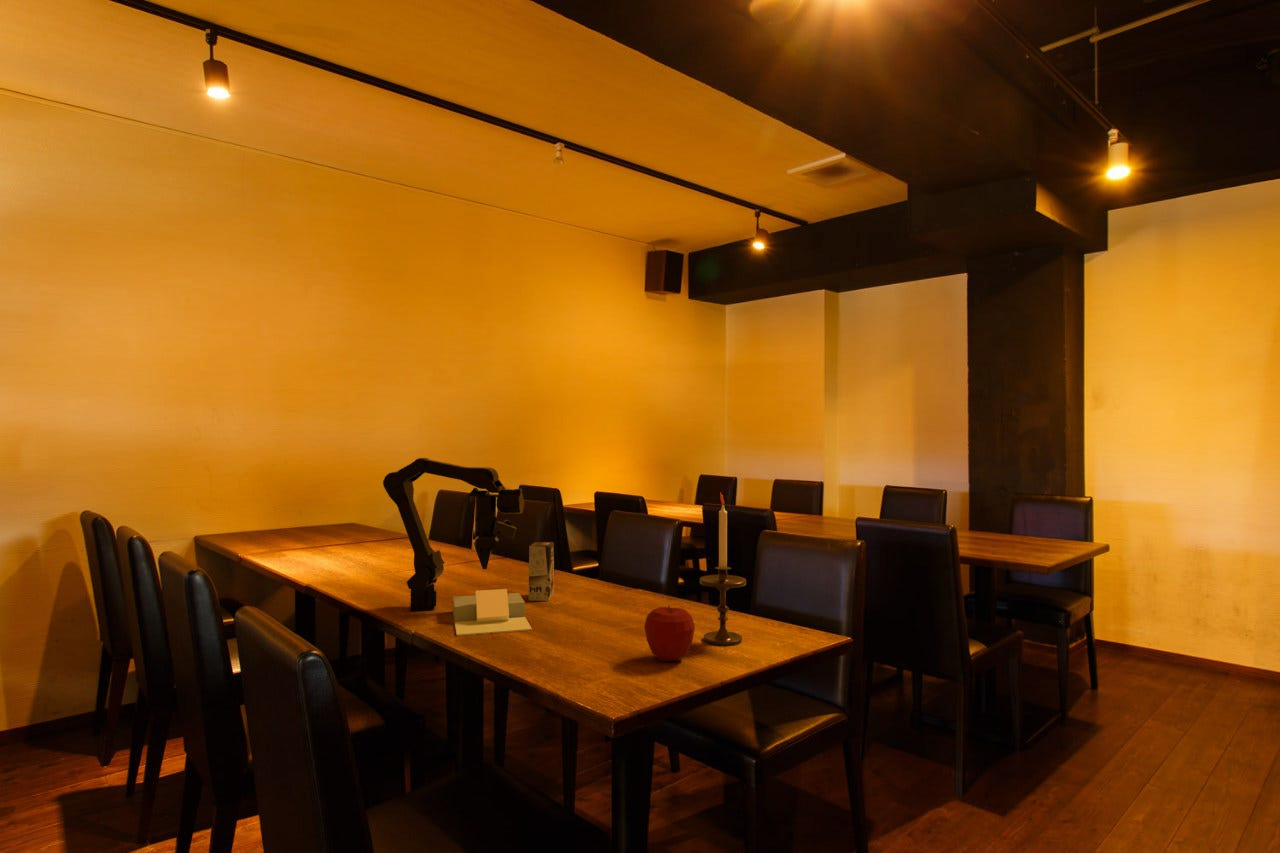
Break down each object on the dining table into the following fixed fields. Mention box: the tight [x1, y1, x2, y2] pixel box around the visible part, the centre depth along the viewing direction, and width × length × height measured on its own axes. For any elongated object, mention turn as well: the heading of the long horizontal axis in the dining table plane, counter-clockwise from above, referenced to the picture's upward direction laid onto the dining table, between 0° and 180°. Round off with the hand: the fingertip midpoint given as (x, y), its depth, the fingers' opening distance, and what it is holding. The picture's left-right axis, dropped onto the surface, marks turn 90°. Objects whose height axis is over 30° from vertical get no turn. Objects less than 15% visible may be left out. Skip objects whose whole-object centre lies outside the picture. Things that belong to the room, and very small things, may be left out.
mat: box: [454, 616, 533, 637], centre depth 174 cm, size 18×12×1 cm, turn 107°
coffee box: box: [528, 541, 555, 602], centre depth 207 cm, size 9×6×16 cm
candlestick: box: [699, 492, 747, 647], centre depth 164 cm, size 11×11×35 cm
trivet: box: [474, 588, 509, 623], centre depth 179 cm, size 8×8×2 cm
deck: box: [452, 592, 526, 623], centre depth 187 cm, size 18×12×4 cm, turn 107°
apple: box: [644, 605, 696, 662], centre depth 149 cm, size 11×11×12 cm
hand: (484, 569), depth 192 cm, fingers closed
